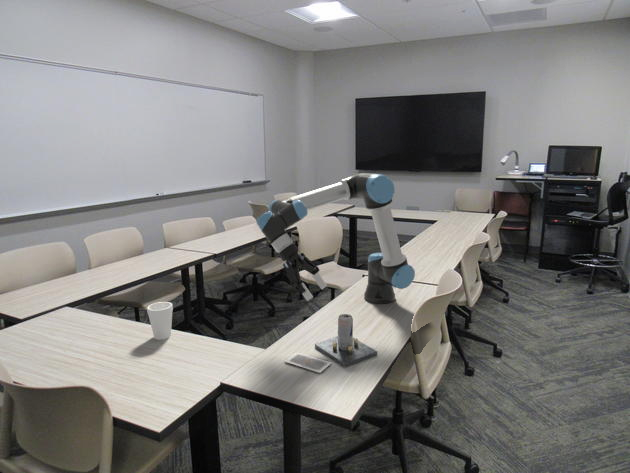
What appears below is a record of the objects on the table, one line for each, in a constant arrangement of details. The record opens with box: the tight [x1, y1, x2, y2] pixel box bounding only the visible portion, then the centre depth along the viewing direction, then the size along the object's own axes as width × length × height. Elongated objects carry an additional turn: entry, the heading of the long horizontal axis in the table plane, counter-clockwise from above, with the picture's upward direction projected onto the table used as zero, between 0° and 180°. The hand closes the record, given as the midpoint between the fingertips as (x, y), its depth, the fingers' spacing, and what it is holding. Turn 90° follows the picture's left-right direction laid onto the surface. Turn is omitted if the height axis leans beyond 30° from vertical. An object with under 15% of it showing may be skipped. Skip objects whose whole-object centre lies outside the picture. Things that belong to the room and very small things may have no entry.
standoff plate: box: [314, 336, 378, 368], centre depth 154 cm, size 15×18×4 cm
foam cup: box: [146, 301, 174, 341], centre depth 167 cm, size 10×9×13 cm
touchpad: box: [283, 351, 332, 374], centre depth 145 cm, size 8×15×2 cm, turn 58°
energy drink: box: [337, 313, 354, 350], centre depth 153 cm, size 5×5×12 cm
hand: (317, 293), depth 158 cm, fingers open, 13 cm apart
